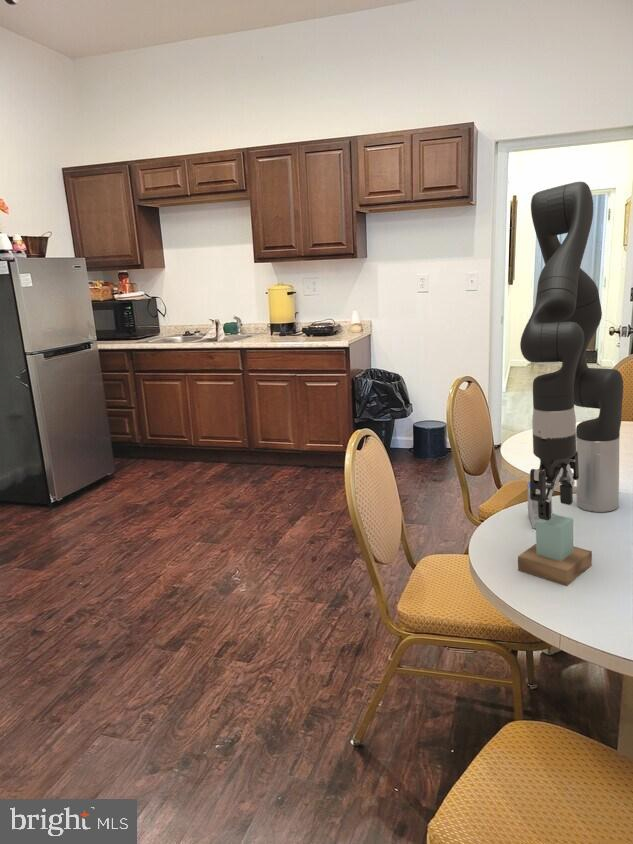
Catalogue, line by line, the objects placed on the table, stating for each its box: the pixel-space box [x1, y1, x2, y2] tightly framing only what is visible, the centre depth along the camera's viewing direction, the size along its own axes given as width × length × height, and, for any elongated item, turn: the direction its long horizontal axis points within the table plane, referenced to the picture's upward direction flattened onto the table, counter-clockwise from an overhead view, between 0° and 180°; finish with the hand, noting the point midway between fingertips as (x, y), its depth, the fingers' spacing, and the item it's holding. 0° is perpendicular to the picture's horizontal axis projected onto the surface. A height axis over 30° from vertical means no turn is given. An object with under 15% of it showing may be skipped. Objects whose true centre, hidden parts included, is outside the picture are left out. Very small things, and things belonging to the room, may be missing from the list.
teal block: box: [535, 513, 574, 561], centre depth 118 cm, size 5×5×7 cm
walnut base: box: [517, 543, 593, 587], centre depth 119 cm, size 10×10×3 cm
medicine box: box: [526, 481, 553, 530], centre depth 140 cm, size 8×4×9 cm, turn 168°
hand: (555, 511), depth 117 cm, fingers open, 8 cm apart
